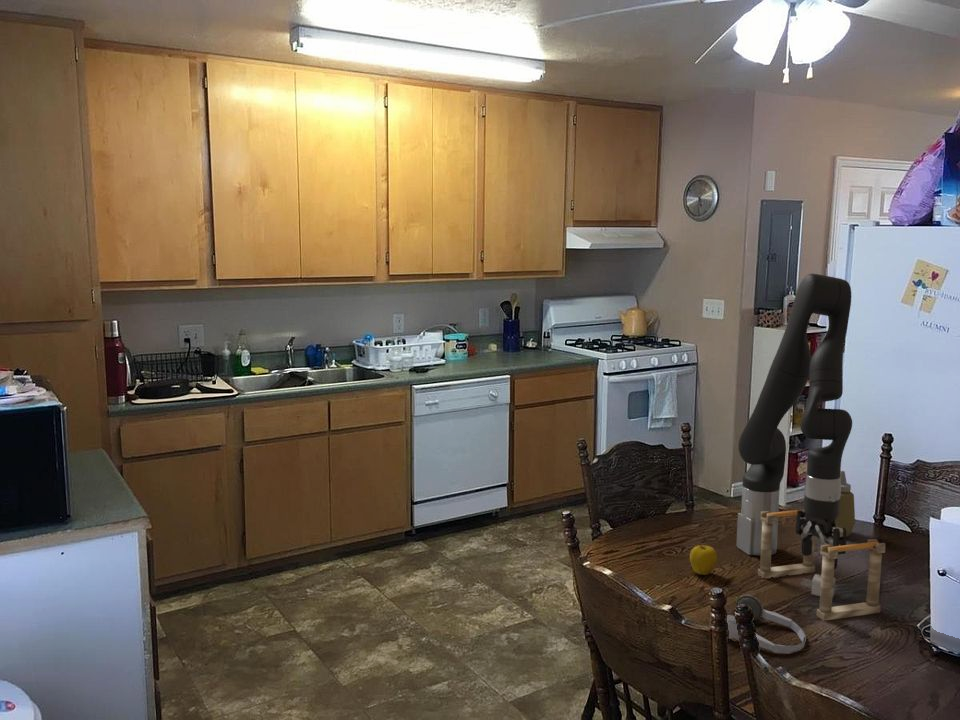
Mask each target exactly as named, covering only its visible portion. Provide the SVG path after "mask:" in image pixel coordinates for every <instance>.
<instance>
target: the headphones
mask: <svg viewBox="0 0 960 720" xmlns="http://www.w3.org/2000/svg"><path fill="white" fill-rule="evenodd" d="M724 590H728V591H732V592H734V590H732V589H730V588H724ZM735 594H736V592H734V593H732V594H730V595H729V598H730V599H731V600H732V601H734V599H733V598H732V597H731V596H732V595H735ZM735 602H736V604H735V606H738V605H740V604H745V605H749V606H750V607H751V608H752V610H753V612H754V621H755V622H756V621H757V620H759V619H760V618H761V617H762V618H763V619H764V620H767V621H769V622H773V623H776V624H779V625H782V626H785V627H788V628H791V630H792V631H793V632H794V633H796V634H797V636H798V638H799V639H800V641H801V642H800V643H798V644H797V645H784V644H783V645H782V644H778V643H777V644H776V643H773V642H772V641H770V640H768V639H766V638H765V637H763V636H761V635H759V634H757V633H755V634H756V637H757V640H758V642H759V646H760V648H762V649H766V650H768V651H771V652H772V653H776V654H786V655H787V654H793V653H796V652H799V651H802V649H804V648H805V644H806V640H807V637H806V634H805V632H804V631H803V629H802V628H801V627H800V626H799V625H798V624H797V623H796V622H795V621H793V619H792V618H789V617H787V616H785V615H782V614H780V613H777V612H774V611H772V610H771V611H770V610H767V609H764V608H763V605H762V603H761V602H760V600H759V599H757V597H755V596H753V595H751V594H743V595H741V596H739V598H737V599H736V601H735ZM735 616H736V615H734V614H727V623H728V630H729V639H736V640H738V641H739V635H738V630H737V624H736V619H735ZM739 642H740V641H739ZM759 646H758V647H759Z"/></svg>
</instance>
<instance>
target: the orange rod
mask: <svg viewBox="0 0 960 720" xmlns="http://www.w3.org/2000/svg"><path fill="white" fill-rule="evenodd" d="M878 543H879V541H877V542H868V541H867V542H861V543H853V544H846V545H843V546H840V545H839V546H835V547H833V546H831V547H828V548H827V551H828V549H838V552H842V551H846V552H849V551H856V550H857V551H858V550H865V549H867V548H874V547H876V544H878Z"/></svg>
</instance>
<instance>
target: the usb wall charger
mask: <svg viewBox="0 0 960 720" xmlns="http://www.w3.org/2000/svg"><path fill="white" fill-rule="evenodd" d="M800 585H801V586H804V587H807V588H811V596H816V597H820V591H821V574H819V573H818V574H817V573H815V574H814V576H813V578H812V580H810V579H806V578H802V581H801V582H800ZM835 591H836V577H834V578H833V594H832V599H833V598H834V595H835Z"/></svg>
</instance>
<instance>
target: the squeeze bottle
mask: <svg viewBox="0 0 960 720" xmlns="http://www.w3.org/2000/svg"><path fill="white" fill-rule="evenodd" d="M840 483H841V494H840V511H839V516H838V517H837V518H836V520H835V523H836V527H839V528H845V529H846V538H847V537H849V536H850V535H851V533H852V531H853V530H854V526H855V524H856V515H855V514H856V511H855V495H854V493H853V492H851V489H852V488H851V486H852V485H851V484H850V483H849V482H848V483H847V476H846V472H845V471H844V470H841V471H840Z"/></svg>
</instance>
